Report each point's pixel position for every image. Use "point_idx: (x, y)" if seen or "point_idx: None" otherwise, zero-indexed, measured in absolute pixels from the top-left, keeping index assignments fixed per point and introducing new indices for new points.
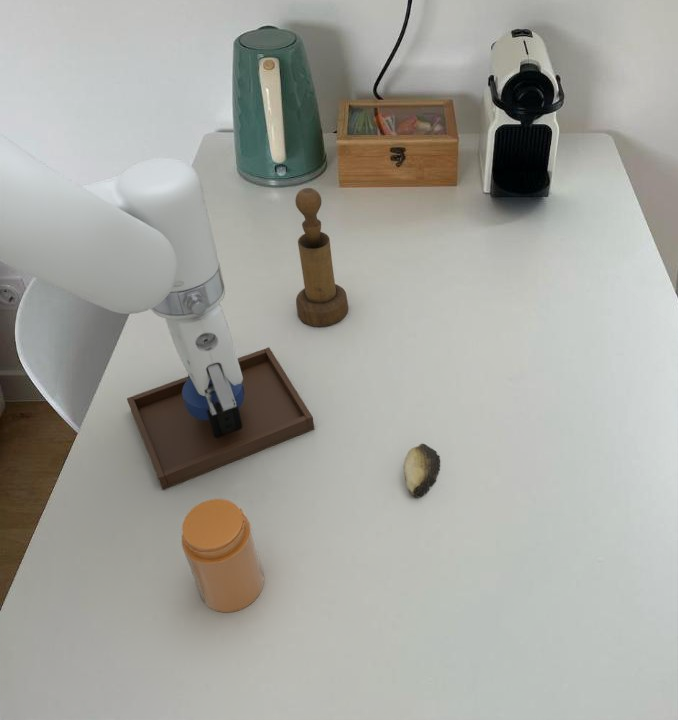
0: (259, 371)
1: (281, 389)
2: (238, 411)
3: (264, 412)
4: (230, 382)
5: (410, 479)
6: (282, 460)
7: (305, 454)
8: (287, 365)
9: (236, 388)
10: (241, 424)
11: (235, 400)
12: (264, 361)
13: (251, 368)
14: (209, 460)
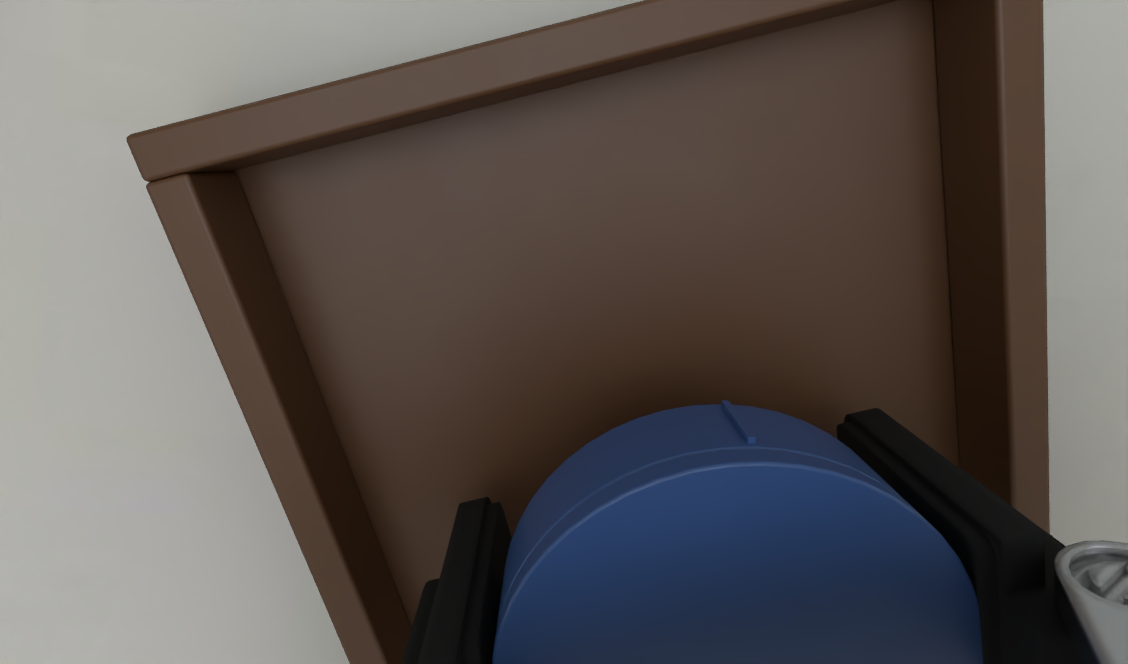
0: (332, 238)
1: (545, 112)
2: (972, 479)
3: (720, 252)
4: (727, 551)
5: None
6: (1090, 196)
7: (1116, 51)
8: (282, 33)
9: (832, 512)
10: (889, 419)
11: (1003, 538)
12: (241, 192)
13: (293, 286)
14: None
